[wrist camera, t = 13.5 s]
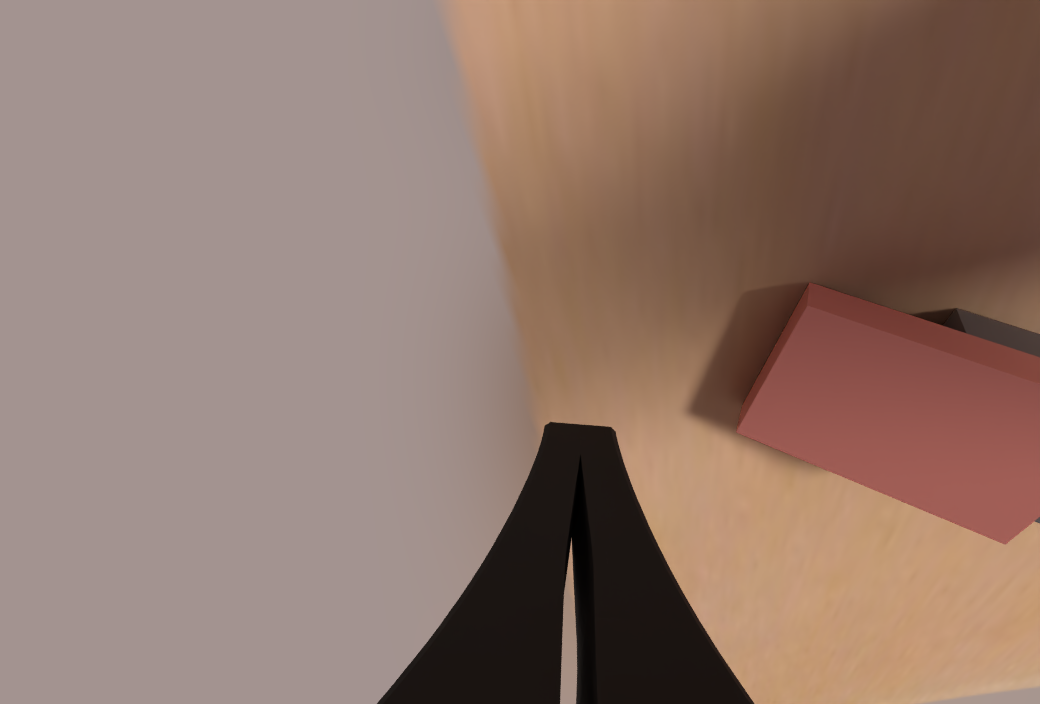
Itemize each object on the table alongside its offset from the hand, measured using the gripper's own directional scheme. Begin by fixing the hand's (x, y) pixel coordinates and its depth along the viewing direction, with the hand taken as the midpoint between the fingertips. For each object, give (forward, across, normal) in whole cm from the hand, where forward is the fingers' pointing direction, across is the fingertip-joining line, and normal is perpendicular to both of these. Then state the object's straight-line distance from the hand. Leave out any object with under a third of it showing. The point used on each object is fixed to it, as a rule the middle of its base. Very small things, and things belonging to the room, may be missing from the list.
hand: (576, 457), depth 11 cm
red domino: (+5, -5, +1) cm, 7 cm away
